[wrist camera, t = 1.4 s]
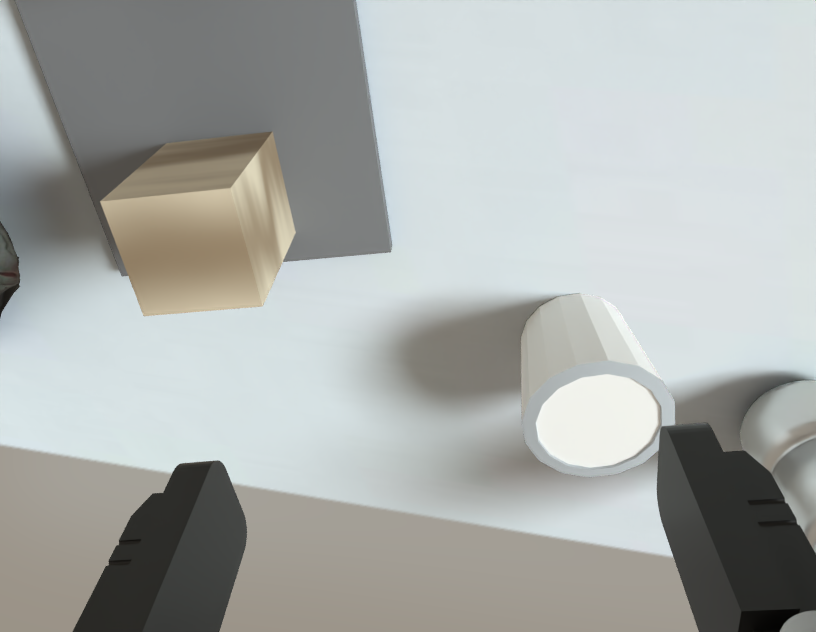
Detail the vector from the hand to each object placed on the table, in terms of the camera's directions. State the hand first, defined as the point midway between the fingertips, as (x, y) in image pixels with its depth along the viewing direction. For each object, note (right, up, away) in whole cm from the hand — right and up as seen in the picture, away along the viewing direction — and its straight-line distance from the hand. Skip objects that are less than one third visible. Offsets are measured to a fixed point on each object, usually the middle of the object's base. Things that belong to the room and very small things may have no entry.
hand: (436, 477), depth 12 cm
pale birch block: (-9, +9, +19) cm, 23 cm away
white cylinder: (+8, +2, +24) cm, 26 cm away
